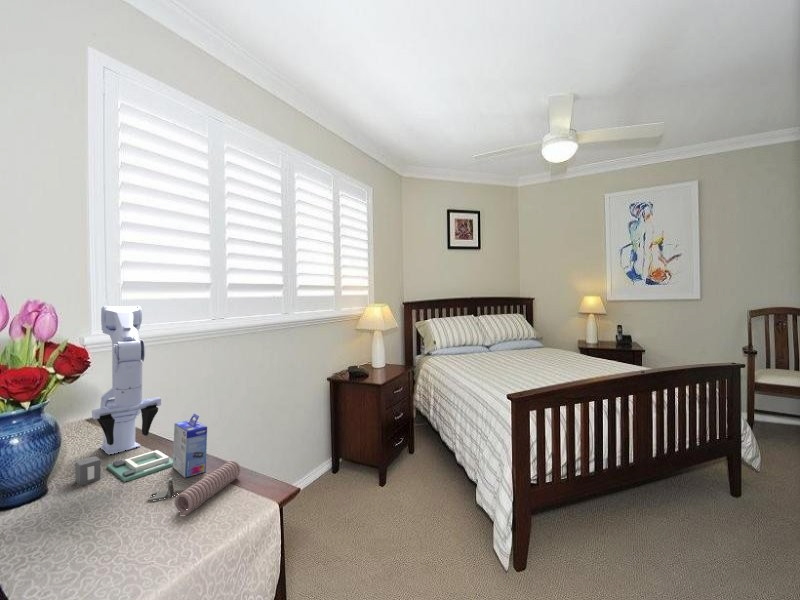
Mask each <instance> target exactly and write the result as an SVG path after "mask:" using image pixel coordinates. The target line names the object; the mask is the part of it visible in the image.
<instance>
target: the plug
mask: <svg viewBox="0 0 800 600" xmlns="http://www.w3.org/2000/svg"><path fill="white" fill-rule="evenodd" d="M74 463H75V465H74V466H75V467H74V468H75V472H74V473H75V476H74V477H75V482H76V483H77V484H78V485H79V486H83V485H84V486H85V485H86V484H89V483H92V482H95V481H99V480H101V459H100V457H97V456H96V455H94V456H90V457H86V458H83V459H80V460H75V461H74Z"/></svg>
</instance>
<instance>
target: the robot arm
mask: <svg viewBox="0 0 800 600" xmlns="http://www.w3.org/2000/svg"><path fill="white" fill-rule="evenodd" d="M100 309H101V311H100V312H101V313H100V322H101V324H100V325H101V331H102V333H103V334H104V335H108V336H109V338H110V340H111V351H112V353H111V357H112V358H111V361H112V362H111V364H112V365H111V369H112V370H111V372H112V373H111V374H112V377H111V378H112V380H111V381H112V382H111V383H112V385H111V388H110V389H108V390H107V391H106V392H104V393H102V395H101V397H100V406H99V408H96V409H92V410H91V418H92V419H93V420H96V421H97V422H98V424H99V425H100V427H101V429H102V433H103V434H102V445H99V446H98V448H99V447H100V448H101V449H100V448H99V449H100V450H102V449H103V450H104V451H105V452H104V451H103V450H102V451H103V452H104V453H105V454H107V455H109V456H110V454H112V455H115V454H118V452H119V453H122V452H126V451H129V450H133V449H136V447H137V448H140V447H141V444H140V443H138V442H136V419H137V416H139V415H141V421H142V422H141V434H142V435H143V436H145V437H146V436H149V433H150V429H151V426H152V423H153V420H154V419H155V417H156V415H157V413H158V412H159V406H162V398H161V397H159V396H158V397H157V396H156V397H153V398H152V397H151V398H144V399H143V362H144V361H145V357H146V345H145V341H144V339H141V338H140V333H139V329H140V328H141V324H142V320H143V310H142V307H141V306H140V305H128V306H126V305H125V306H123V305H122V306H118V305H116V306H112V305H111V306H109V305H103V306H102V307H101V308H100ZM125 450H126V451H125ZM114 453H115V454H114Z"/></svg>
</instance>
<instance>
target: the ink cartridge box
mask: <svg viewBox="0 0 800 600" xmlns="http://www.w3.org/2000/svg"><path fill="white" fill-rule="evenodd" d="M199 417H200V416H199V415H197V414H196V413H193V414H192V416H191V418H190V419H189V420H183V421H180V422H176V423H174V427H173V428H174V429H173V430H174V431H173V448H172V449H173V450H172V460H173V466H172V468H173V469H174V470H175V471H177V473H179V474H180V475H181V476H182V477H183V478H190V477H192V476H193V477H194V476H195V475H200V474H203V473H206V472H207V446H208V442H207V440H208V439H207V438H208V426H207V425H205V424H203V423H201V422H199V421H198V420H199ZM194 418H195V419H194Z"/></svg>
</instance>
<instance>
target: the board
mask: <svg viewBox="0 0 800 600" xmlns="http://www.w3.org/2000/svg"><path fill="white" fill-rule="evenodd" d="M171 467H173V458H171V457H170V456H168V454H167V455H166V454H165V453H163V452H162V451H160V450H158V449H156V450H153V451H149V452H146V453H142V454H139V455H136V456H133V457H132V456H131V457H129V458H125V459H121V460H120V459H119V460H118V461H114V462H113V461H112V463H109V464H106V469H107V470H108V471H110V472H111V473H112V474H114V475H115V476H116V477H117V478H118V479H120V480H121V481H123V483H126V481H127V482H129V481H132V480H136V479H138V478H142V477H145V476H147V475H150V474H153V473H156V472H159V471H162V470H165V469H167V468H168V469H169V468H171Z"/></svg>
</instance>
